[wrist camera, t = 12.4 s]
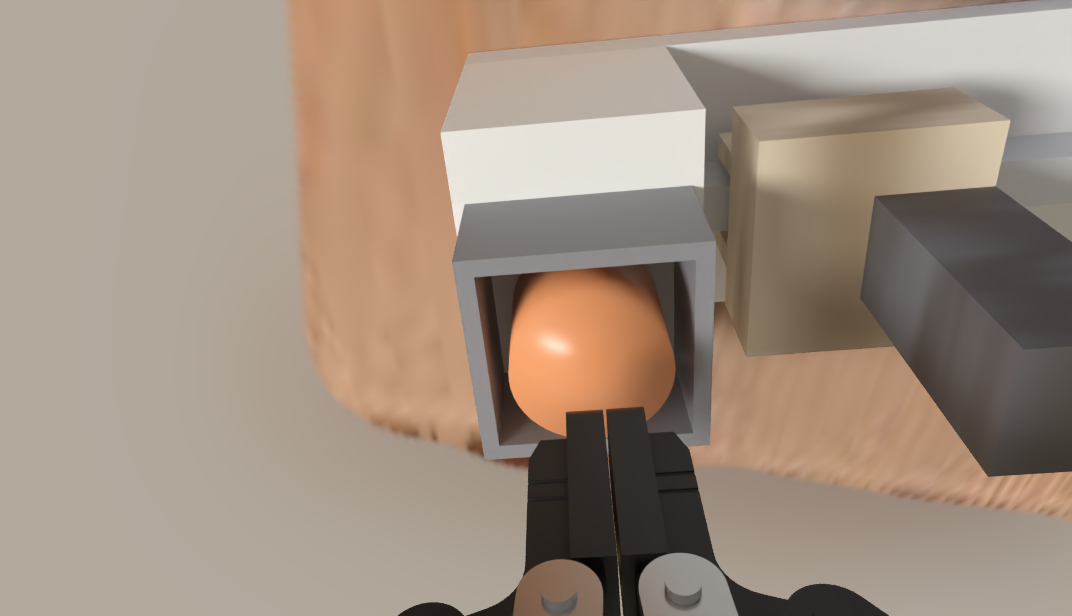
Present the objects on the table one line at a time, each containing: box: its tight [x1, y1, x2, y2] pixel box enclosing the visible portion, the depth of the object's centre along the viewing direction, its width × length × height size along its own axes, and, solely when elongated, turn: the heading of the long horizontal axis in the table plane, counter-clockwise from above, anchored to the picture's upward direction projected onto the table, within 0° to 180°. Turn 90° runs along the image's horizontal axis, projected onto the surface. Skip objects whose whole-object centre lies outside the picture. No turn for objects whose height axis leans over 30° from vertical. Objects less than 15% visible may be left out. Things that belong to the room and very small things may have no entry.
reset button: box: [508, 264, 676, 438], centre depth 18 cm, size 4×4×3 cm
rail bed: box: [441, 0, 1072, 460], centre depth 21 cm, size 24×10×11 cm, turn 95°
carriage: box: [715, 87, 1072, 477], centre depth 19 cm, size 6×6×12 cm
